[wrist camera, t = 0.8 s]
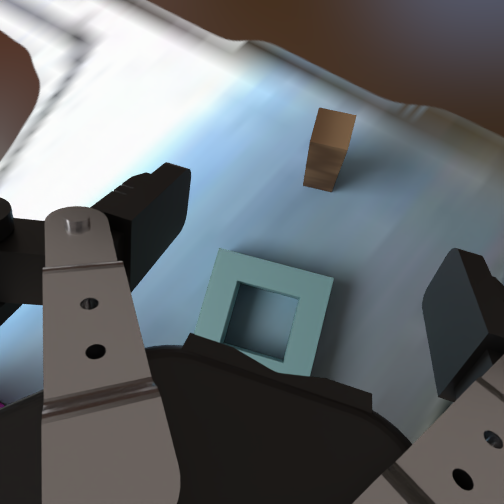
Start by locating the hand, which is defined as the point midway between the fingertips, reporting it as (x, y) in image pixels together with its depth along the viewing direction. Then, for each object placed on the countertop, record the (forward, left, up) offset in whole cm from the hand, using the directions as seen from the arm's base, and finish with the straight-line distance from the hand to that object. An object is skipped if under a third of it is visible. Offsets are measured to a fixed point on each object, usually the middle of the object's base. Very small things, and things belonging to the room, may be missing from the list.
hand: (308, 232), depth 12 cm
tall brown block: (0, -13, -27) cm, 30 cm away
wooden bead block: (+2, +3, -27) cm, 27 cm away
